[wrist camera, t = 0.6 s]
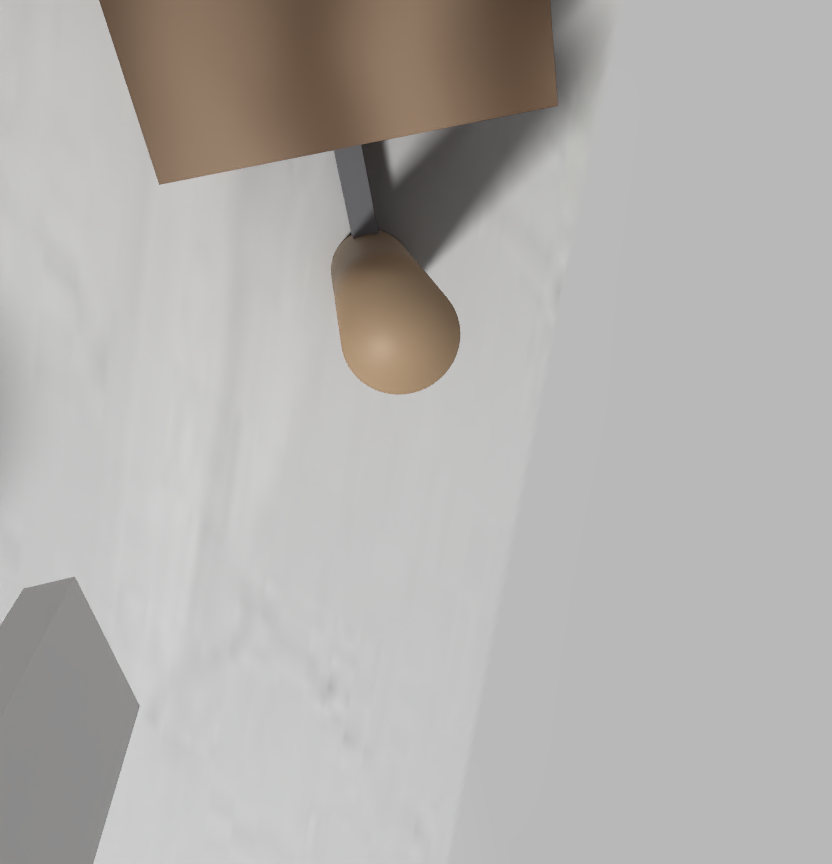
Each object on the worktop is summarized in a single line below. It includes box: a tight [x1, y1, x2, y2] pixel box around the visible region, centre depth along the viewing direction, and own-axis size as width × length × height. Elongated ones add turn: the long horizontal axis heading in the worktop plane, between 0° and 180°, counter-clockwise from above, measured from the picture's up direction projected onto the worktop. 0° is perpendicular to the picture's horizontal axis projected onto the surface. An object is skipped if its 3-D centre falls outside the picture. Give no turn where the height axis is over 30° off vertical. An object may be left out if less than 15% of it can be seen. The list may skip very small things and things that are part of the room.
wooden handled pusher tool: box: [331, 145, 460, 394], centre depth 23 cm, size 6×24×12 cm, turn 10°
